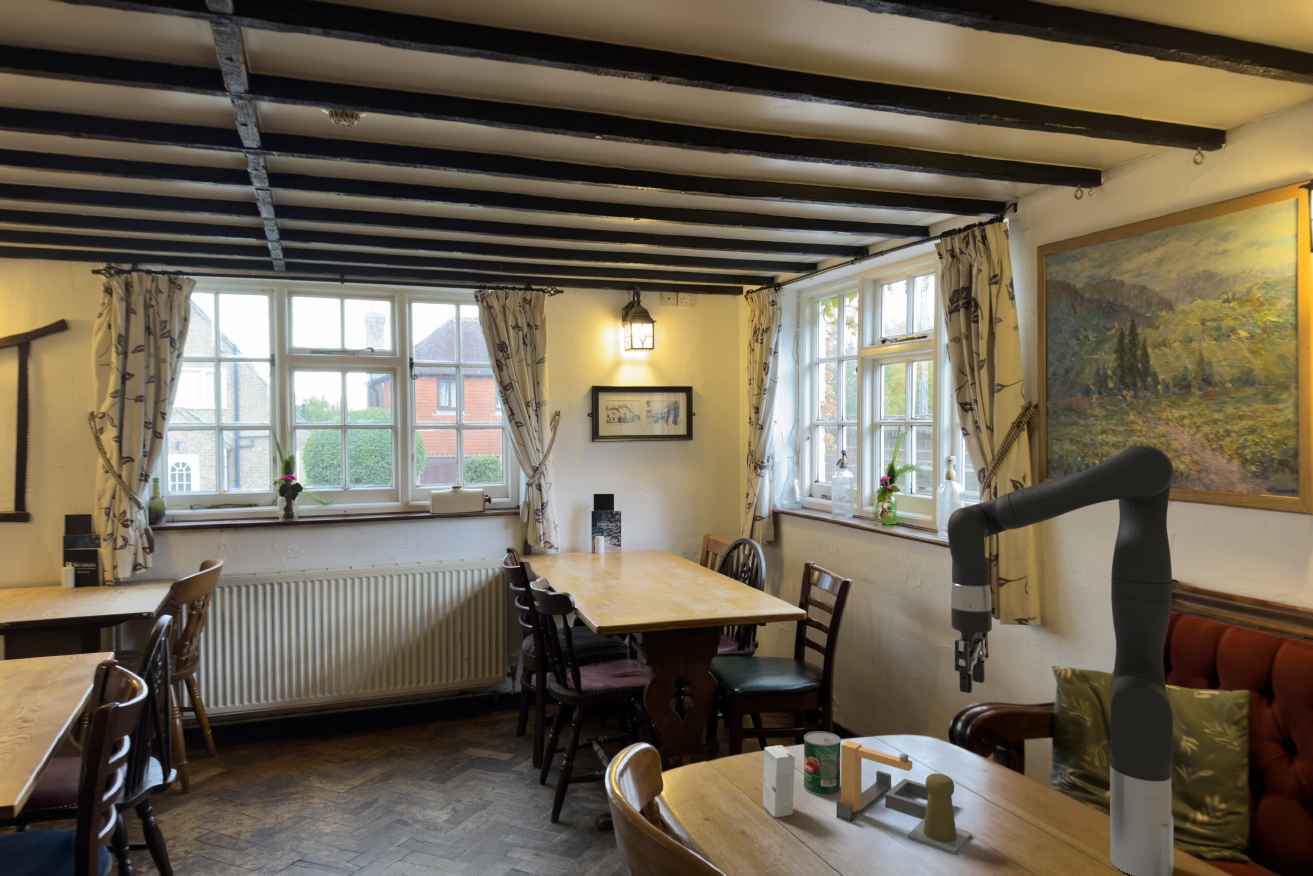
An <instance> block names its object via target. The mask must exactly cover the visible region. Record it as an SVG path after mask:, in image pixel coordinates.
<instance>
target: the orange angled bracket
mask: <svg viewBox="0 0 1313 876" xmlns="http://www.w3.org/2000/svg"><path fill="white" fill-rule="evenodd" d="M840 747H841V749H840V752H841V753H840V801H841V802H844V803H847V804H850V805H853V812H856V811H857V810H859V809H860V808H861V794H862V759H865V760H869V761H872V762H876V763H879V764H882V765H886V766H890V767H893V768H897V769H899V770H903V771H907V772H910V771H911V770H913V760H910V759H909V755H908V754H906V753H900V754H899V756H896V755H892V754H889V753H886V752H885V753H884V752H881V751H878V750H874V749H870V748H867V747H863V746H862V744H861V743H859V742H855V741H852V740H846V741H845V742H843V743H842V744H840Z"/></svg>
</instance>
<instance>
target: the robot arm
mask: <svg viewBox="0 0 1313 876" xmlns="http://www.w3.org/2000/svg"><path fill="white" fill-rule="evenodd" d="M1173 478H1174V466H1173V463H1172V461H1171V459H1170V458H1169V456H1168V455H1167V454H1166V453H1165V452H1164V451H1162V450H1160V449H1158V448H1156V447H1154V446H1150V445H1146V444H1145V445H1141V444H1140V445H1133V446H1130V447H1128V448H1126V449H1124V450H1122V451H1121V452H1120V453H1118V454H1117V455H1115V456H1113V457H1111V458H1109V459H1107V460H1105V461H1103V462H1100V463H1099V464H1097V465H1095V466H1092V467H1090V468H1088V469H1085V470H1082V471H1079V472H1076V473H1073V474H1071V475H1067V476H1064V477H1059V478H1057V479H1051V480H1049V481H1044V482H1041V483H1037V484H1034V485H1030V486H1026V487H1024V488H1020V489H1017V490H1014V491H1012V492H1008V493H1005V494H1003V495H1001V496H999V497H997V498H995V499H990V500H987V501H983V502H979V503H976V504H972V505H968V506H965V507H961V508H958V509H956V510H954V511H953V512H952V513H951V514H950V516H949V518H948V521H947V538H948V546H949V550H950V555H951V561H952V562H951V590H950V610H951V611H950V613H951V614H950V615H951V616H950V618H951V620H950V621H951V623H950V625H951V628H952V629H953V630H955V631H958V632H959V633H960V638H959V639H955V641H954V671H955V672H958V673H959V691H960V693H965V694H971V693H972V692H973V682H975V683H980V684H983V683H984V682H985V681H986V680H985V674H986V673H985V664H986V663H987V659H988V658H989V640H988V634H989V632H991V631H992V628H993V625H992V624H993V620H992V617H993V615H992V614H993V613H992V594H991V593H992V591H991V584H990V583H991V579H990V578H991V577H990V575H991V574H990V573H991V572H990V564H989V562H990V561H989V559H988V558H987V556H986V549H985V545H986V544H985V539H986V538H988V537H990V536H991V537H992V536H994V535H996V534H1000V533H1003V532H1005V531H1009V530H1016V529H1021V528H1024V527H1028V526H1031V525H1034V524H1038V523H1041V522H1045V521H1047V520H1051V519H1054V518H1056V517H1059V516H1062V515H1065V514H1068V513H1070V512H1073V511H1076V510H1079V509H1082V508H1085V507H1089V506H1091V505H1092V506H1093V505H1096V504H1100V503H1105V502H1109V501H1115V500H1116V501H1117V500H1118V509H1119V510H1118V511H1119V519H1118V521H1119V524H1118V530H1117V535H1116V539H1115V545H1114V548H1113V555H1112V566H1111V578H1110V579H1111V581H1110V582H1111V584H1110V595H1111V596H1110V597H1111V598H1110V599H1111V600H1110V601H1111V602H1110V603H1111V612H1112V614H1111V615H1112V623H1113V628H1114V629H1113V630H1114V636H1115V658H1114V667H1113V668H1114V669H1113V675H1112V680H1111V686H1110V692H1109V705H1110V706H1109V709H1110V711H1109V712H1110V715H1109V717H1110V724H1109V725H1110V743H1109V744H1110V746H1109V748H1110V749H1109V760H1110V761H1109V777H1110V778H1109V791H1110V793H1109V795H1110V796H1109V797H1110V798H1109V802H1110V803H1109V807H1110V809H1109V811H1110V813H1109V825H1110V826H1109V827H1110V828H1109V829H1110V830H1109V833H1110V834H1109V835H1110V836H1109V838H1110V839H1109V840H1110V841H1109V843H1110V844H1109V852H1110V853H1109V857H1110V859H1109V860H1110V862H1111V864H1112V865H1113V867H1115V868H1116V869H1118V870H1119V869H1120V870H1119V871H1120V872H1122V871H1123V872H1122V873H1124V872H1125V874H1126V873H1128V874H1132V875H1135V876H1173V873H1174V862H1175V861H1174V816H1173V814H1172V768H1173V767H1172V766H1173V763H1174V761H1173V759H1174V757H1173V756H1174V715H1173V709H1172V708H1173V707H1172V705H1171V703H1170V700H1169V697H1168V692H1167V689H1166V688H1167V687H1166V680H1165V669H1164V667H1165V666H1164V648H1165V642H1166V638H1167V635H1168V630H1169V625H1170V620H1171V613H1172V603H1173V602H1172V600H1173V599H1172V597H1173V574H1172V573H1173V572H1172V558H1171V550H1170V543H1169V542H1170V541H1169V535H1168V528H1167V527H1168V525H1167V523H1168V521H1167V519H1168V507H1169V500H1170V493H1171V492H1170V491H1171V485H1172V481H1173ZM1128 874H1127V875H1128Z"/></svg>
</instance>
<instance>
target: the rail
mask: <svg viewBox="0 0 1313 876" xmlns="http://www.w3.org/2000/svg"><path fill="white" fill-rule="evenodd" d="M875 773H876V774H875V777H876V778H875V779H876V781H875V782H874V783H873V784H872V785H871V786H869V787H868V788H866V790H864V791H863V792H861V808H860V809H859V810H857V811H856V812H853V805H850V804H847V803H844V802H841V800H838V801H836V818H837V819H840V820H843V821H846V822H848V823H852V822H853V821H854V820H855V819H856V818H857V817H858V816H860V815H861V814H862V813H863V812H865V811H866V810H867V809H868V808H869V807H871V806H872V805H873V804H874V803H875V802H876V801H878V800H879V799H880V798H881V797H882V796H885V794H886V793H887V792H889V791H890V790H891V789H892V774H891V773H888V772H884V771H881V770H877V771H875Z"/></svg>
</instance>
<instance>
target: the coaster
mask: <svg viewBox="0 0 1313 876" xmlns="http://www.w3.org/2000/svg"><path fill="white" fill-rule="evenodd" d="M924 822H925V818H924V819H922V820H920V822H919V823H917V824H916V825H915V827H914V828H913V829H912V830H911V831H910V832H909V833H907V839H909V840H912V841H914V842H917V843H919V844H923V845H926V846H929V847H931V848H935V849H937V850H940V851H943V852H945V853H949V854H951V855H954V856H956V855H957V854H958V853H959V851H960V850H961V849H962V848H963V847H964V845H965V844H966V843H967V841H968V840H969V839H970V838H971V837H972V832H970V831H967V830H964V829H961V828H958V827H956V835H957V838H956V840H954V841H952V842H940V841H935V840H933V839H930V838H928V837H927V836H926V835H925V834H924V832H923V830H924Z"/></svg>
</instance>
